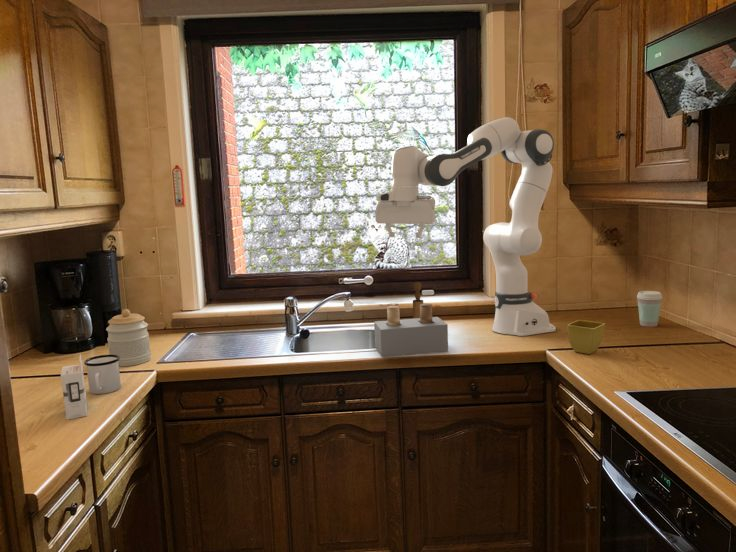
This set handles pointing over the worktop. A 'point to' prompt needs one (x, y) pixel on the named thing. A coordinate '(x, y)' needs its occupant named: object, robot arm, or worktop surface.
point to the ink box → (74, 391)
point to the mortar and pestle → (417, 300)
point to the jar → (129, 338)
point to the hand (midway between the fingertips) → (405, 237)
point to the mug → (103, 374)
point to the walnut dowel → (425, 313)
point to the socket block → (411, 337)
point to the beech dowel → (393, 316)
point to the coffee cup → (649, 307)
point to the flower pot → (585, 335)
